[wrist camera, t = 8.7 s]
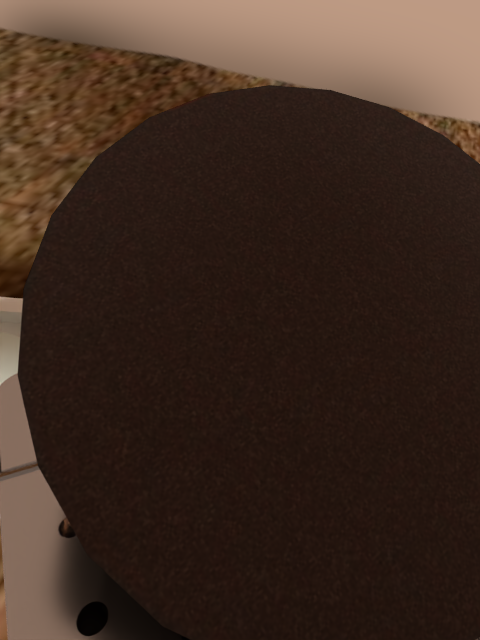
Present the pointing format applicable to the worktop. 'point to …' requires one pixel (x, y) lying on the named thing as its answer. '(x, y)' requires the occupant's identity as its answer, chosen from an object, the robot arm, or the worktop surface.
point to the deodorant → (268, 369)
